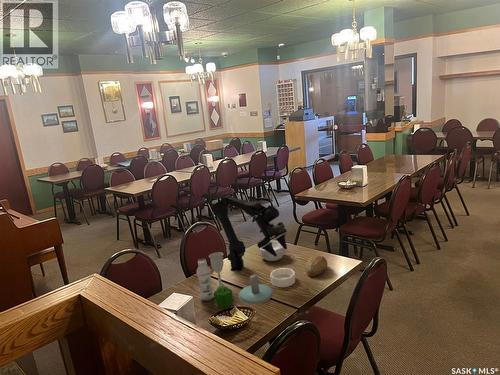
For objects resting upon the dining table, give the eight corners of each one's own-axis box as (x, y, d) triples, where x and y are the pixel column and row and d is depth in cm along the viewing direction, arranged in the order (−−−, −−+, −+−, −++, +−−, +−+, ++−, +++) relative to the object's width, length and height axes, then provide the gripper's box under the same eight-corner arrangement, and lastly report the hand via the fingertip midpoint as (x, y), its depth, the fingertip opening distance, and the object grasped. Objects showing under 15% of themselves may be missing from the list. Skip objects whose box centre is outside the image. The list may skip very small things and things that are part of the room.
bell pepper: (229, 312, 156) (226, 291, 154) (212, 309, 159) (209, 289, 157) (237, 301, 164) (234, 282, 161) (221, 299, 167) (218, 280, 165)
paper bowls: (258, 254, 213) (257, 242, 211) (283, 250, 214) (282, 238, 212) (262, 265, 198) (260, 252, 196) (288, 261, 199) (287, 248, 198)
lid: (237, 302, 162) (234, 284, 160) (243, 286, 176) (241, 269, 174) (269, 302, 159) (267, 284, 157) (273, 285, 173) (271, 268, 171)
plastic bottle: (201, 296, 172) (194, 258, 168) (214, 294, 172) (209, 256, 168) (200, 303, 166) (193, 264, 161) (214, 301, 166) (208, 262, 162)
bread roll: (332, 267, 186) (331, 253, 185) (319, 279, 175) (318, 265, 173) (315, 264, 192) (314, 250, 190) (302, 276, 181) (301, 261, 179)
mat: (234, 305, 161) (234, 304, 161) (241, 286, 177) (241, 285, 177) (271, 304, 158) (271, 303, 158) (275, 285, 174) (275, 284, 174)
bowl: (269, 288, 172) (269, 279, 171) (272, 276, 184) (271, 268, 183) (294, 287, 170) (293, 279, 169) (295, 275, 181) (294, 267, 180)
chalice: (216, 293, 173) (211, 259, 169) (211, 287, 179) (206, 255, 175) (230, 288, 176) (225, 255, 173) (224, 283, 182) (220, 250, 179)
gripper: (263, 224, 166) (281, 253, 163) (285, 213, 180) (302, 239, 177) (249, 234, 173) (266, 262, 170) (271, 222, 187) (287, 247, 184)
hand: (281, 252), depth 175 cm, fingers open, 9 cm apart
